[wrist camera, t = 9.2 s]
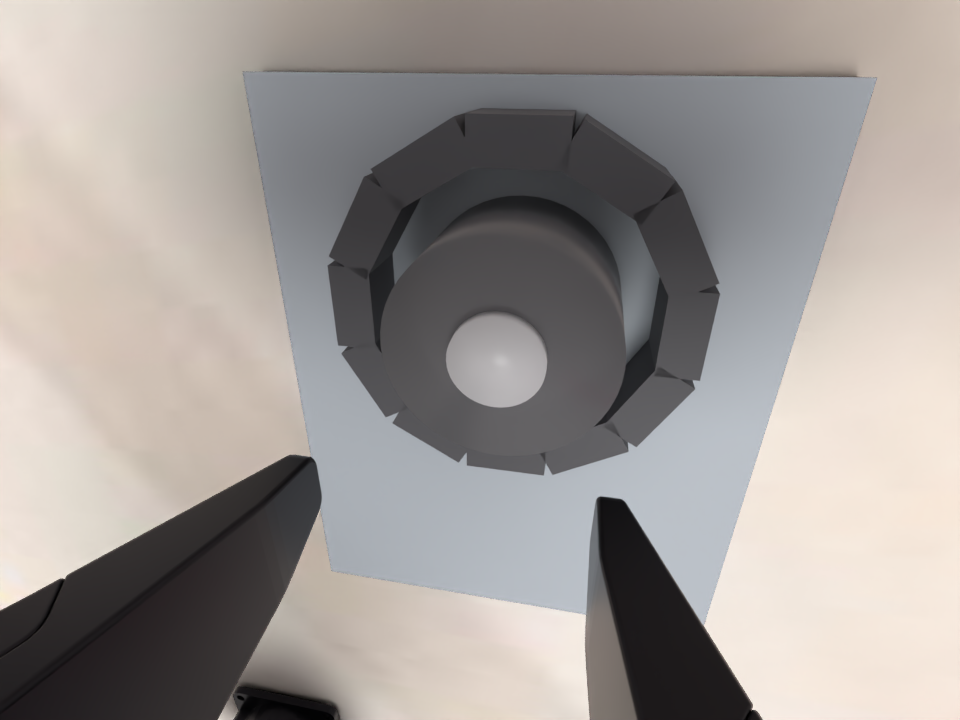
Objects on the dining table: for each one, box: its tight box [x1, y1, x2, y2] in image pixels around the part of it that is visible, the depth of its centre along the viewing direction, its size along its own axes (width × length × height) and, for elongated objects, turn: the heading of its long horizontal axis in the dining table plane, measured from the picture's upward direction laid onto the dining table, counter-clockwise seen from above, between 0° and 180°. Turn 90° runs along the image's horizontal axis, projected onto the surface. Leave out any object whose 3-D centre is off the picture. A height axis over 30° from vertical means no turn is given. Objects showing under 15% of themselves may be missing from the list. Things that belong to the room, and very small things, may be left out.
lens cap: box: [380, 195, 626, 456], centre depth 15 cm, size 6×6×4 cm
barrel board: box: [243, 72, 877, 626], centre depth 18 cm, size 16×20×3 cm
